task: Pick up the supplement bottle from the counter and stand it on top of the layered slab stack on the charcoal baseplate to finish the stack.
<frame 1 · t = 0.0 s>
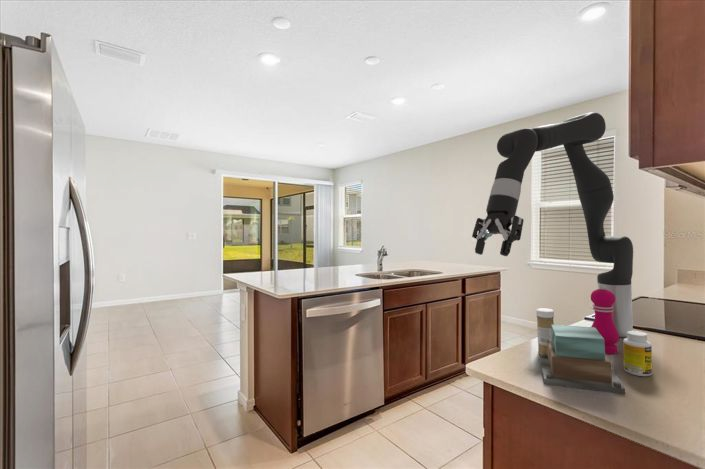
hand: (490, 254, 92), 31 cm above the counter, tool tilted 20°, fingers open, 8 cm apart
sprinkles bottle: (546, 355, 102), on the counter
layered slab stack: (577, 374, 88), on the counter
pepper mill: (604, 351, 103), on the counter
supplement bottle: (637, 373, 88), on the counter
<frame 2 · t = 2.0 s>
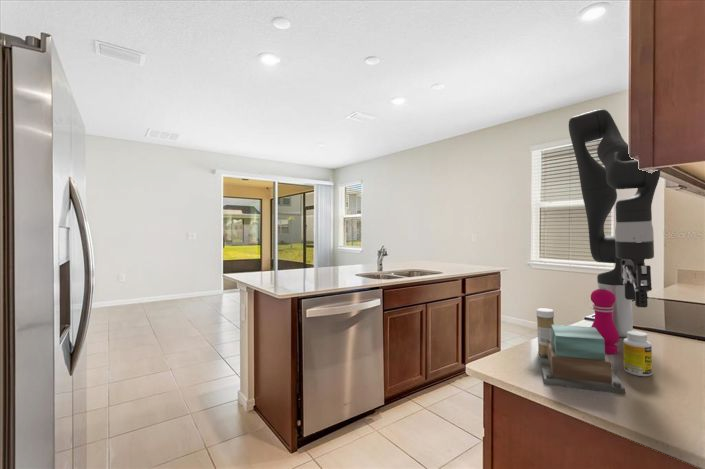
hand: (635, 303, 87), 18 cm above the counter, tool pointing down, fingers open, 8 cm apart
nothing on the counter moved.
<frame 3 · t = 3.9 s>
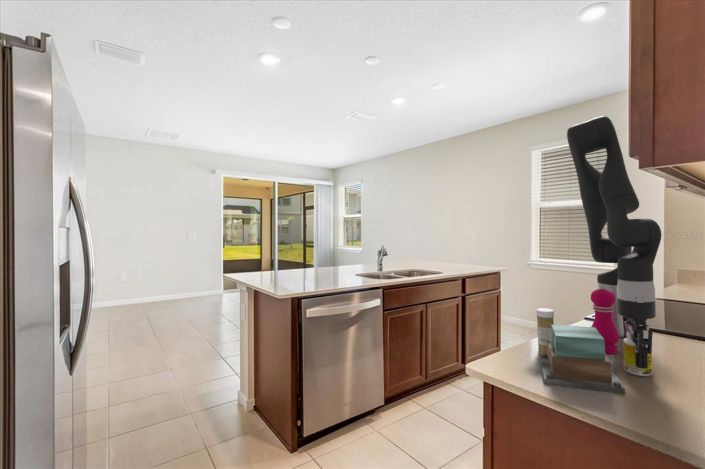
hand: (637, 362, 88), 3 cm above the counter, tool pointing down, fingers closed on supplement bottle, 5 cm apart
supplement bottle: (637, 373, 88), on the counter, touching gripper
everything else where it was.
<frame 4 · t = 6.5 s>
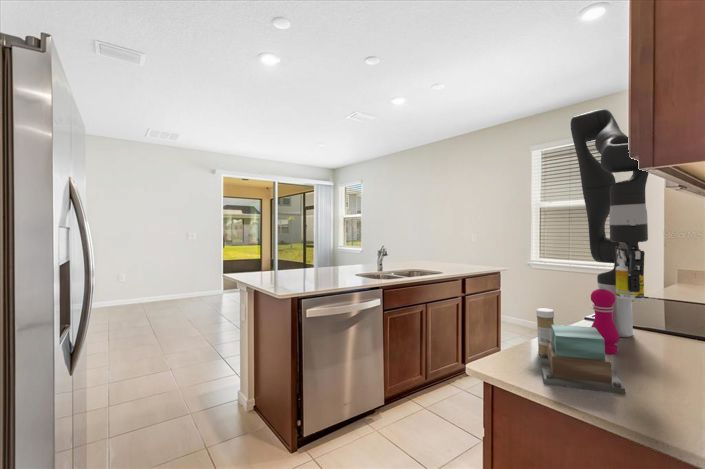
hand: (629, 289, 87), 22 cm above the counter, tool pointing down, fingers closed on supplement bottle, 5 cm apart
supplement bottle: (630, 299, 87), point 19 cm above the counter, touching gripper
everything else where it was.
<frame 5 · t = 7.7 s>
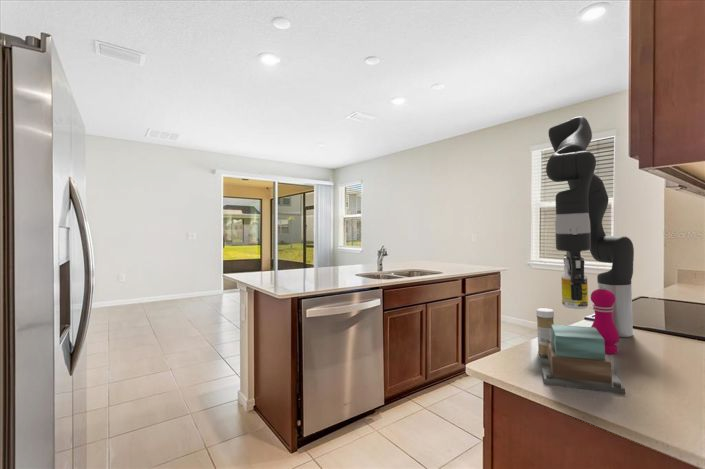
hand: (574, 297, 88), 20 cm above the counter, tool pointing down, fingers closed on supplement bottle, 5 cm apart
supplement bottle: (575, 307, 88), point 17 cm above the counter, touching gripper
everything else where it was.
when the fingers open (15 cm above the counter, at t = 8.9 s): supplement bottle drops 1 cm, resting on layered slab stack.
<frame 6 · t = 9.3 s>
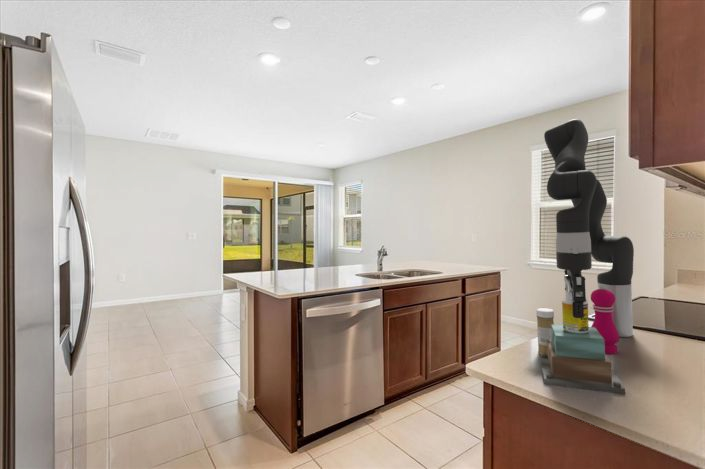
hand: (575, 313, 88), 16 cm above the counter, tool pointing down, fingers open, 8 cm apart
supplement bottle: (575, 331, 88), point 11 cm above the counter, touching layered slab stack
everything else where it was.
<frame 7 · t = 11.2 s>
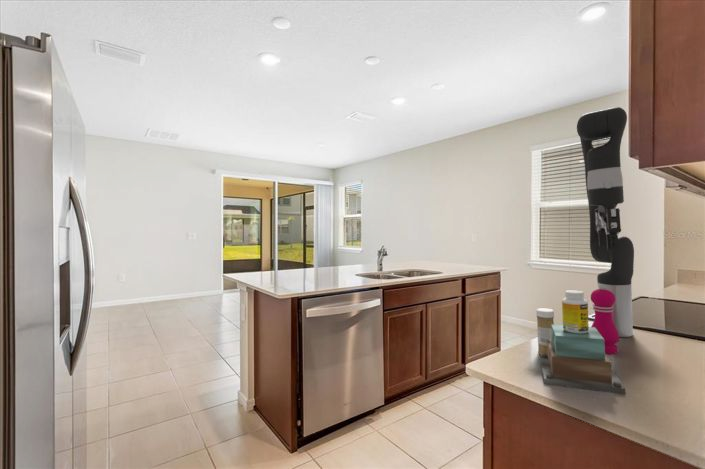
hand: (608, 247, 91), 32 cm above the counter, tool pointing down, fingers open, 8 cm apart
nothing on the counter moved.
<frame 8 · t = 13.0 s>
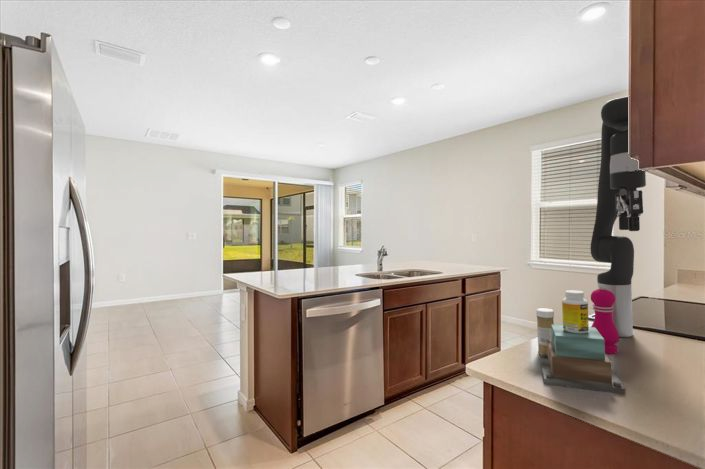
hand: (628, 230, 94), 36 cm above the counter, tool pointing down, fingers open, 8 cm apart
nothing on the counter moved.
at the end: supplement bottle 0.2 cm off-centre on the layered slab stack, point 11.0 cm above the layered slab stack's base; supplement bottle tilted 0°; the gripper is holding nothing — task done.
